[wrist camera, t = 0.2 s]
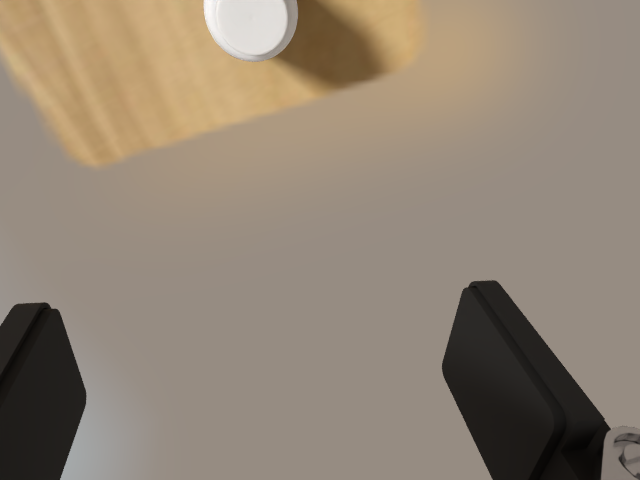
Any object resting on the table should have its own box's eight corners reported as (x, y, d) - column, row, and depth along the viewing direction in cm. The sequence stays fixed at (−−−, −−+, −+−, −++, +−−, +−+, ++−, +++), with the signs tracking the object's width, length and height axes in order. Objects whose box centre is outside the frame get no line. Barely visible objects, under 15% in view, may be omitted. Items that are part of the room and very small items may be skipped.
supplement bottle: (303, -5, 33) (323, 12, 25) (257, 56, 35) (261, 91, 27) (241, -66, 31) (241, -69, 22) (195, 3, 33) (179, 24, 24)
